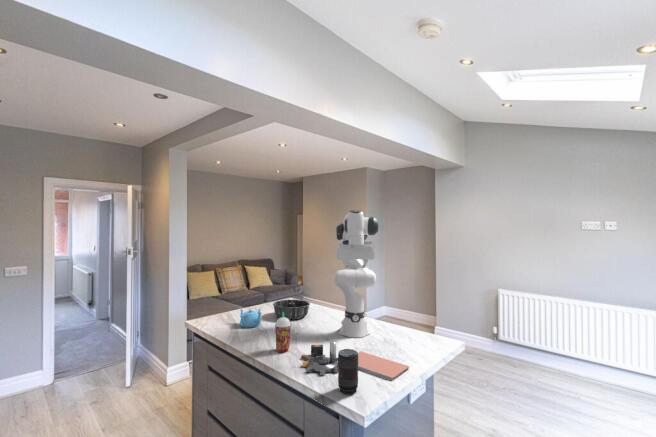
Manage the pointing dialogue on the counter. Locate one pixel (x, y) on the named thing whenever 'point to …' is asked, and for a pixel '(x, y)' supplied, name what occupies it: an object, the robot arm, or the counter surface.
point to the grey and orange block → (316, 350)
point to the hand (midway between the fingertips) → (355, 268)
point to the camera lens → (348, 371)
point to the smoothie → (282, 334)
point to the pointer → (305, 357)
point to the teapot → (250, 318)
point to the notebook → (380, 366)
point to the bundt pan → (291, 308)
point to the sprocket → (323, 362)
